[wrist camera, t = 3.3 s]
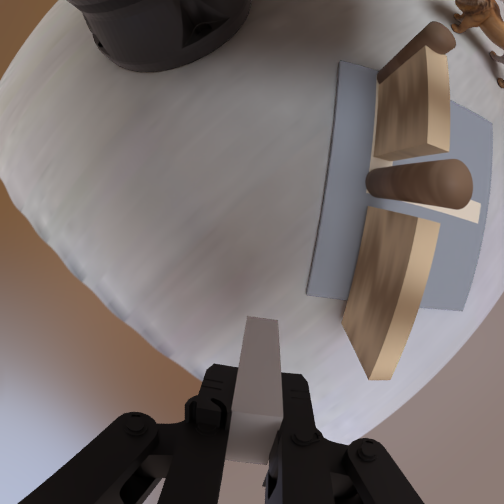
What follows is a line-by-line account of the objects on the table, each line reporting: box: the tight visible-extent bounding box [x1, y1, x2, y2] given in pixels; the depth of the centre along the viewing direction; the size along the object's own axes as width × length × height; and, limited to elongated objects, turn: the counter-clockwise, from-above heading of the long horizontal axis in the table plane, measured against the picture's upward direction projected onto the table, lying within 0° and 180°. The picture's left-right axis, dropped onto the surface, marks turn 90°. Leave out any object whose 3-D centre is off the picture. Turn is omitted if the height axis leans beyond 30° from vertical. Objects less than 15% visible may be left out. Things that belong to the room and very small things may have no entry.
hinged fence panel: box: [342, 206, 441, 380], centre depth 17 cm, size 10×2×8 cm, turn 172°
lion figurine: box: [451, 0, 504, 88], centre depth 11 cm, size 15×5×9 cm, turn 57°
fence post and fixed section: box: [365, 21, 473, 210], centre depth 14 cm, size 12×2×11 cm, turn 172°
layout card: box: [306, 60, 493, 311], centre depth 20 cm, size 20×18×1 cm
